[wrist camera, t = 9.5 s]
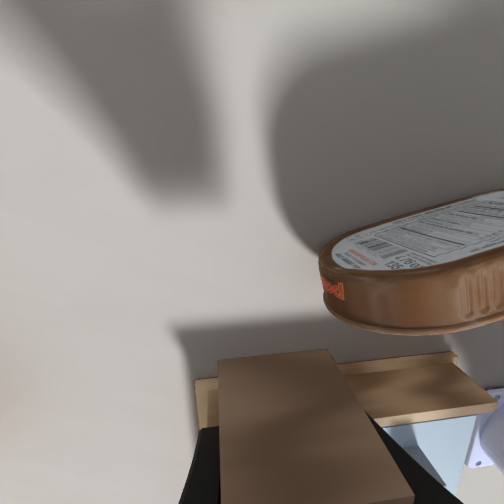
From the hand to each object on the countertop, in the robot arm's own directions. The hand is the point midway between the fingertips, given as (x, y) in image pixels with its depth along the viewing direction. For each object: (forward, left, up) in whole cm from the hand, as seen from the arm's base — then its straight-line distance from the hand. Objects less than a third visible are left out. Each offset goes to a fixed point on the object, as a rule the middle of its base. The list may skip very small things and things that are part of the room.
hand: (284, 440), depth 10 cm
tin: (-10, -4, -10) cm, 15 cm away
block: (0, 0, -2) cm, 2 cm away
